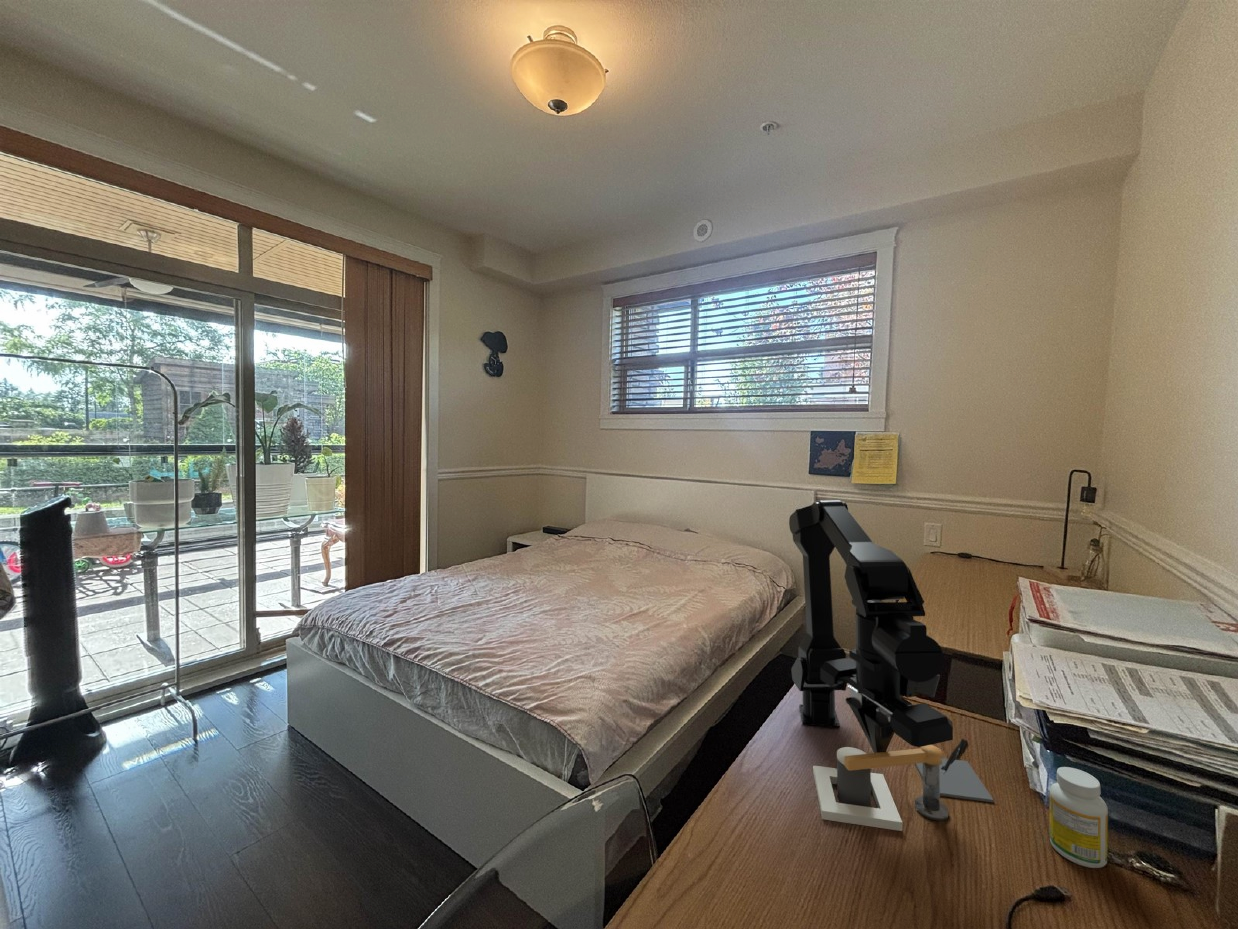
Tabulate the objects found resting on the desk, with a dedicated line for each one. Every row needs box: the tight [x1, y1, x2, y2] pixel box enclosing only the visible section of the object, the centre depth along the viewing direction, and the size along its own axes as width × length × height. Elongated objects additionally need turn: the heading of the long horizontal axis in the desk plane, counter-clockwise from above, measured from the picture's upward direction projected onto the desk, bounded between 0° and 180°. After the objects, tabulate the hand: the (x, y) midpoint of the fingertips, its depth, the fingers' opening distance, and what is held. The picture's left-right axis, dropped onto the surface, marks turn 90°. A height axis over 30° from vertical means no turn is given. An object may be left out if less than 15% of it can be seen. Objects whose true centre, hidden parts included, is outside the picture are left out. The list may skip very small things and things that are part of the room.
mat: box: [914, 757, 995, 803], centre depth 76 cm, size 9×8×1 cm
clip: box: [845, 744, 943, 771], centre depth 69 cm, size 3×14×1 cm, turn 96°
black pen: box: [940, 738, 969, 773], centre depth 81 cm, size 12×1×1 cm, turn 132°
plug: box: [836, 746, 872, 807], centre depth 72 cm, size 4×4×6 cm
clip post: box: [914, 763, 949, 822], centre depth 70 cm, size 4×4×7 cm
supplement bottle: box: [1049, 766, 1109, 869], centre depth 62 cm, size 5×5×10 cm
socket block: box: [812, 765, 903, 832], centre depth 72 cm, size 10×10×1 cm
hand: (879, 755), depth 70 cm, fingers closed
